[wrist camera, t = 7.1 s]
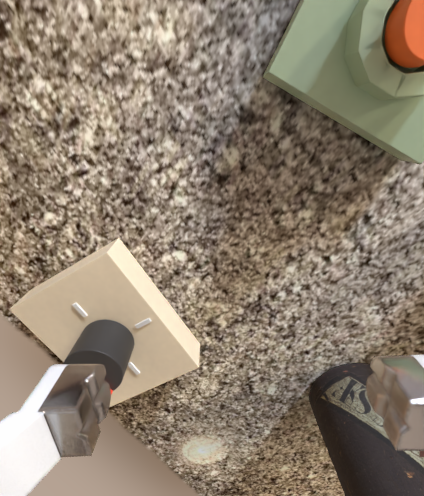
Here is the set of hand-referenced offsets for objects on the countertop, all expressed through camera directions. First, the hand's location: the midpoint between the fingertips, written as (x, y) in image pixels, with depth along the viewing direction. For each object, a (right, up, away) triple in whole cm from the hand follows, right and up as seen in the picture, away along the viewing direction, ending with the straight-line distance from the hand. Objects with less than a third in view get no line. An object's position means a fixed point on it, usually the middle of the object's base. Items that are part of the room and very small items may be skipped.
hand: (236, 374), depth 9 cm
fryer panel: (-10, -3, +18) cm, 21 cm away
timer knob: (-10, -4, +15) cm, 19 cm away
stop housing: (+10, +17, +10) cm, 22 cm away
